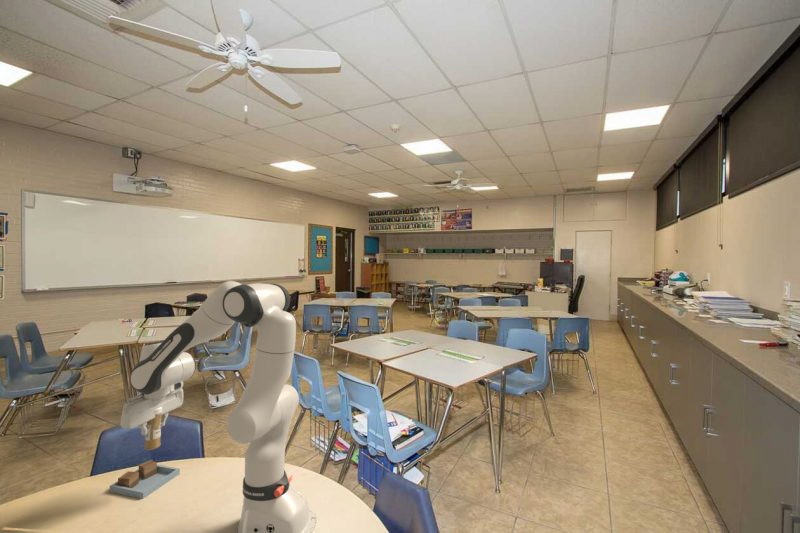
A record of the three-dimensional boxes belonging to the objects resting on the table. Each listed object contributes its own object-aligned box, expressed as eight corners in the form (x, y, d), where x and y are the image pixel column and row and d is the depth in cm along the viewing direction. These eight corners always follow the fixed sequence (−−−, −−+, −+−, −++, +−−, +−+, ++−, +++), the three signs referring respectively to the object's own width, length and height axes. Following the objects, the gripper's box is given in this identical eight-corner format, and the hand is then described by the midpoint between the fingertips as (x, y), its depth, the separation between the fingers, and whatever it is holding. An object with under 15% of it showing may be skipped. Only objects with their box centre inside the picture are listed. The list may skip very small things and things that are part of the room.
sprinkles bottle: (160, 448, 116) (162, 408, 116) (143, 452, 113) (145, 411, 113) (160, 442, 120) (162, 403, 120) (144, 445, 117) (146, 406, 117)
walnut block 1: (138, 483, 121) (138, 471, 121) (129, 490, 117) (129, 478, 117) (127, 482, 121) (127, 471, 121) (117, 490, 117) (117, 478, 117)
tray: (179, 475, 126) (179, 468, 126) (143, 500, 113) (143, 492, 113) (148, 469, 130) (149, 463, 130) (109, 493, 116) (109, 485, 116)
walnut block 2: (156, 473, 126) (156, 462, 126) (144, 479, 123) (144, 468, 123) (150, 470, 128) (150, 459, 128) (138, 476, 125) (138, 465, 125)
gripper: (132, 401, 106) (130, 447, 106) (187, 380, 126) (185, 418, 126) (115, 399, 107) (114, 443, 107) (172, 378, 127) (171, 416, 127)
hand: (153, 430), depth 116 cm, fingers closed on sprinkles bottle, 4 cm apart
